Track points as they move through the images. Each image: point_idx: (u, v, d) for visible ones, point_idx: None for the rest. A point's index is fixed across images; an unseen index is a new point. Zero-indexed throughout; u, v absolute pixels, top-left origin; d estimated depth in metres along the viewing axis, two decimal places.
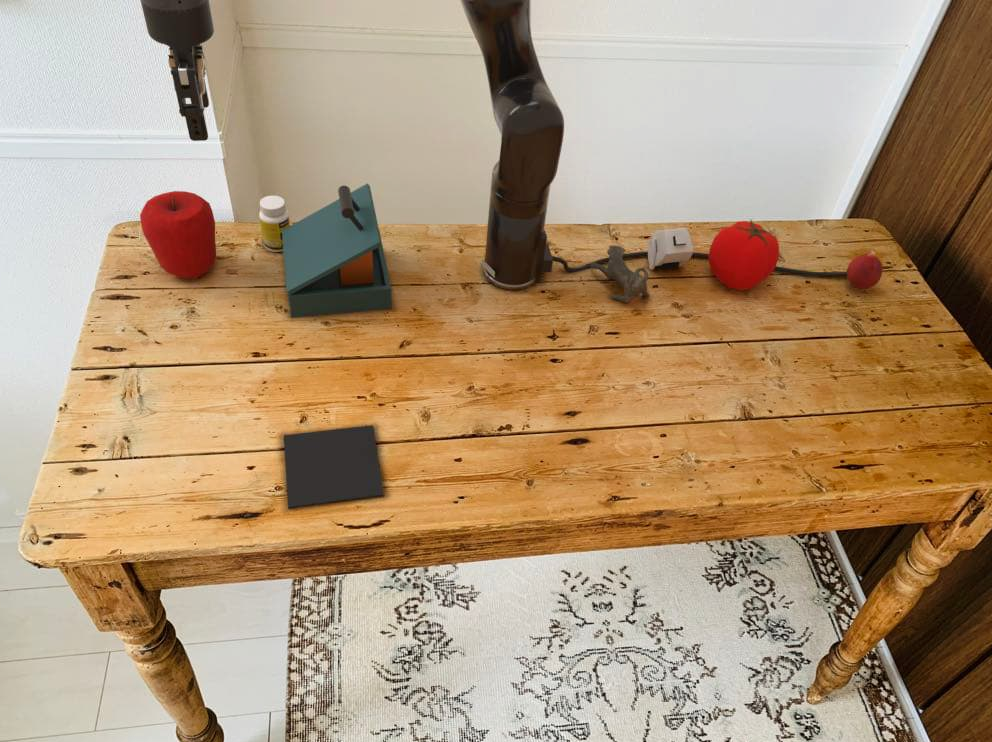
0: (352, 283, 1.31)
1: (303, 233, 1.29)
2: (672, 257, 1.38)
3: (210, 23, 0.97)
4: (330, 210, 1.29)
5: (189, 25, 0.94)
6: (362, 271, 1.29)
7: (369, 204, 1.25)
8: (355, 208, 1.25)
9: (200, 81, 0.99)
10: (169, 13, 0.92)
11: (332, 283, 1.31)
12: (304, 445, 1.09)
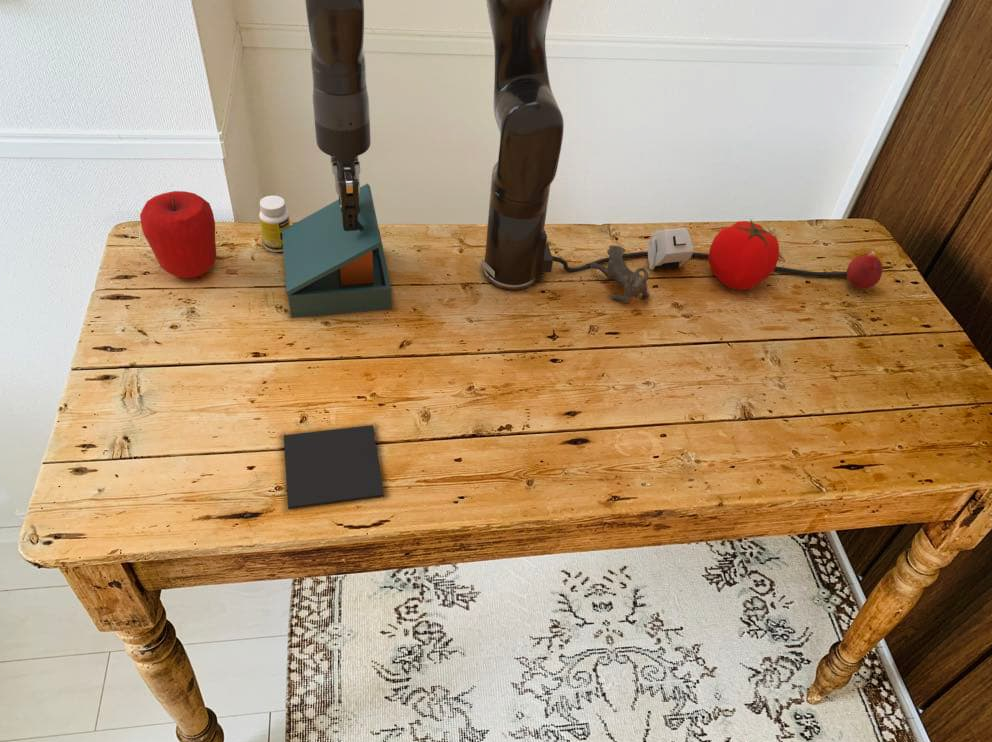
0: (352, 283, 1.31)
1: (304, 233, 1.29)
2: (672, 257, 1.38)
3: (369, 137, 1.14)
4: (330, 210, 1.29)
5: (355, 141, 1.11)
6: (362, 271, 1.29)
7: (369, 204, 1.25)
8: None
9: (357, 184, 1.17)
10: (341, 132, 1.09)
11: (332, 283, 1.31)
12: (304, 445, 1.09)
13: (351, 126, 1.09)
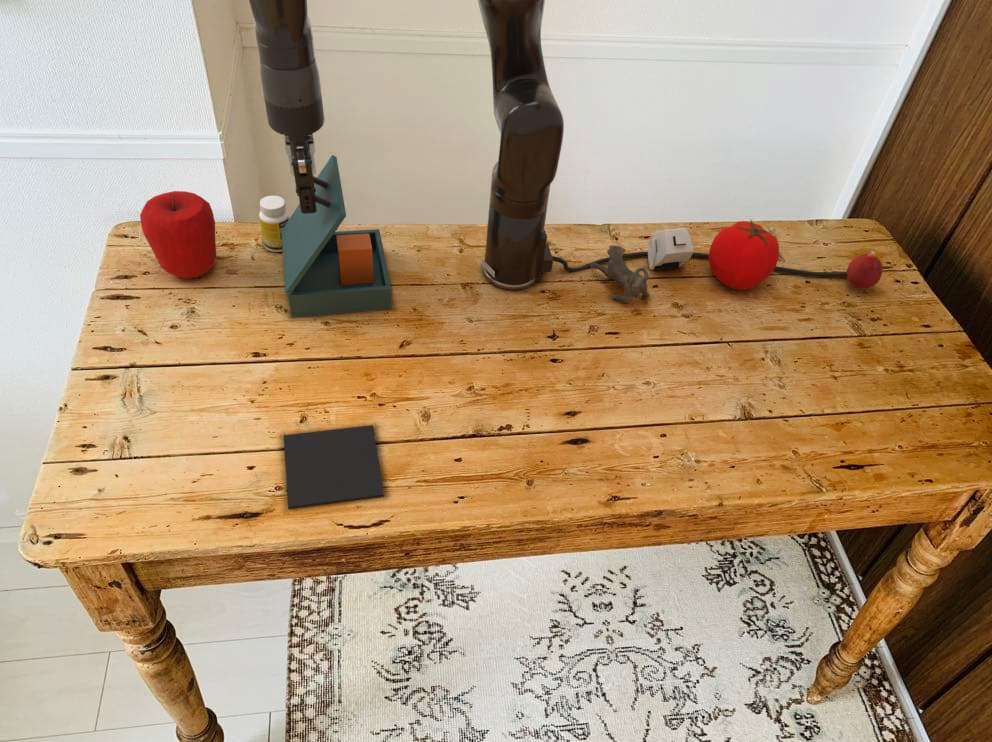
0: (352, 283, 1.31)
1: (294, 227, 1.27)
2: (672, 257, 1.38)
3: (322, 114, 1.10)
4: None
5: (306, 118, 1.07)
6: (362, 271, 1.29)
7: (334, 176, 1.21)
8: (323, 186, 1.21)
9: (312, 164, 1.13)
10: (290, 110, 1.05)
11: (332, 283, 1.31)
12: (304, 445, 1.09)
13: (301, 102, 1.05)
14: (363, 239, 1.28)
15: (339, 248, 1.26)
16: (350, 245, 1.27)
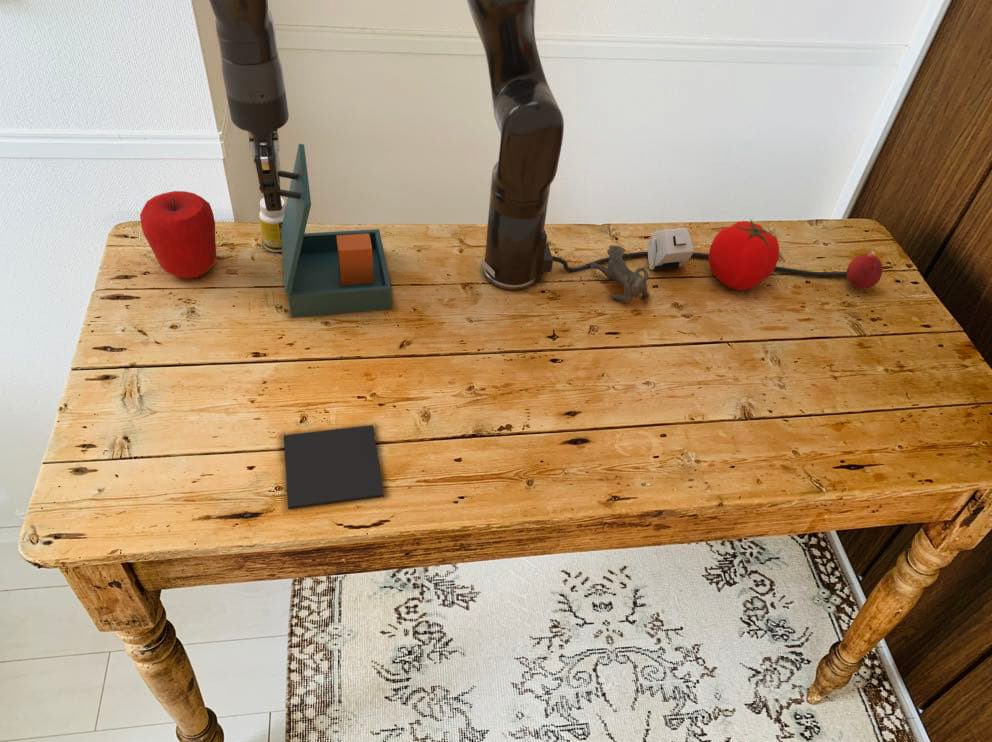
0: (352, 283, 1.31)
1: (286, 225, 1.27)
2: (672, 257, 1.38)
3: (286, 110, 1.08)
4: (291, 190, 1.25)
5: (269, 114, 1.05)
6: (362, 271, 1.29)
7: (300, 166, 1.18)
8: (294, 178, 1.19)
9: (277, 161, 1.11)
10: (253, 105, 1.04)
11: (332, 283, 1.31)
12: (304, 445, 1.09)
13: (263, 98, 1.04)
14: (363, 239, 1.28)
15: (339, 248, 1.26)
16: (350, 245, 1.27)
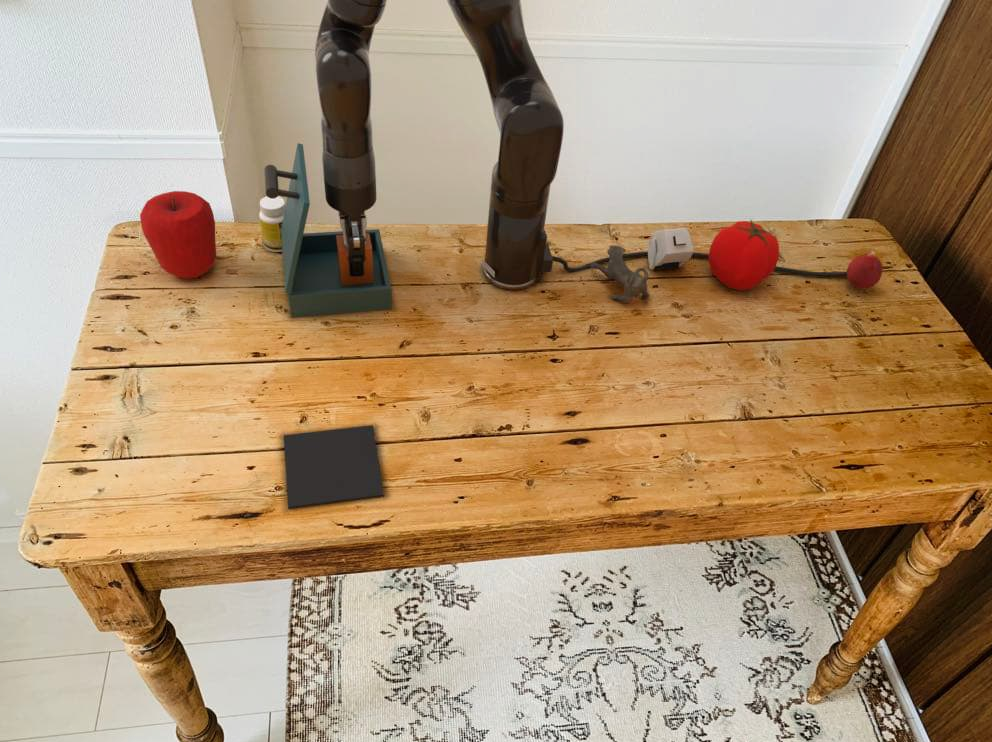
0: (352, 283, 1.31)
1: (285, 225, 1.27)
2: (672, 257, 1.38)
3: (375, 193, 1.21)
4: (290, 190, 1.25)
5: (362, 198, 1.18)
6: None
7: (299, 165, 1.18)
8: (292, 177, 1.19)
9: (363, 236, 1.24)
10: (349, 191, 1.16)
11: (332, 283, 1.31)
12: (304, 445, 1.09)
13: (358, 185, 1.16)
14: None
15: (339, 248, 1.26)
16: None
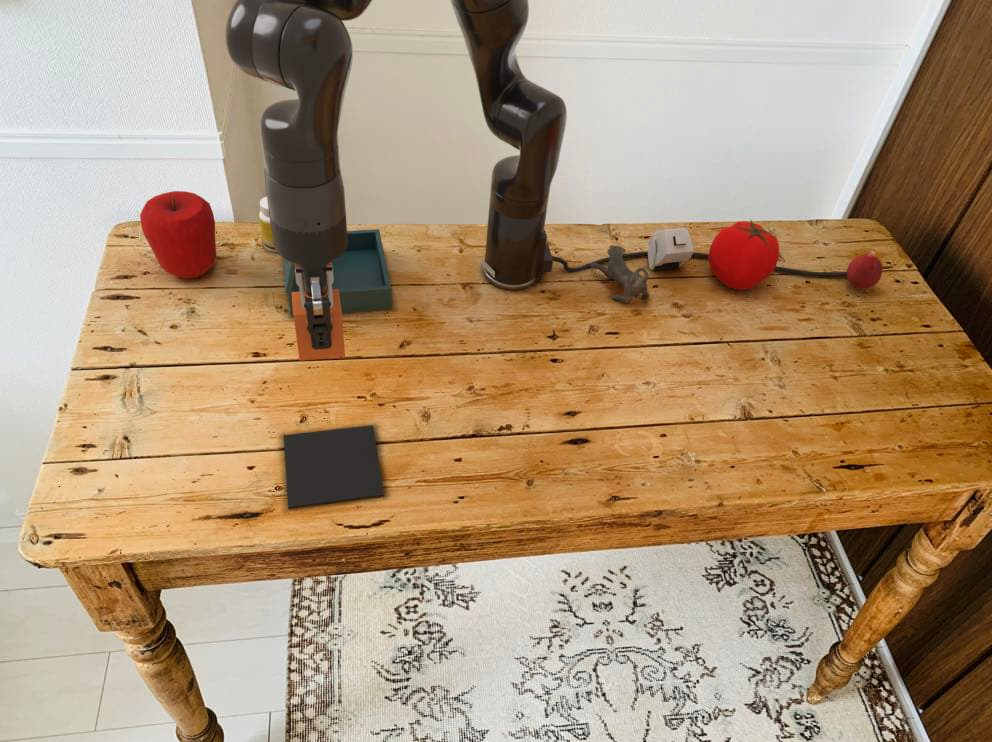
0: (315, 357, 0.94)
1: None
2: (672, 257, 1.38)
3: (346, 236, 0.83)
4: None
5: (325, 245, 0.81)
6: None
7: None
8: None
9: (330, 296, 0.87)
10: (305, 235, 0.79)
11: None
12: (304, 445, 1.09)
13: (319, 227, 0.79)
14: None
15: (295, 312, 0.89)
16: None
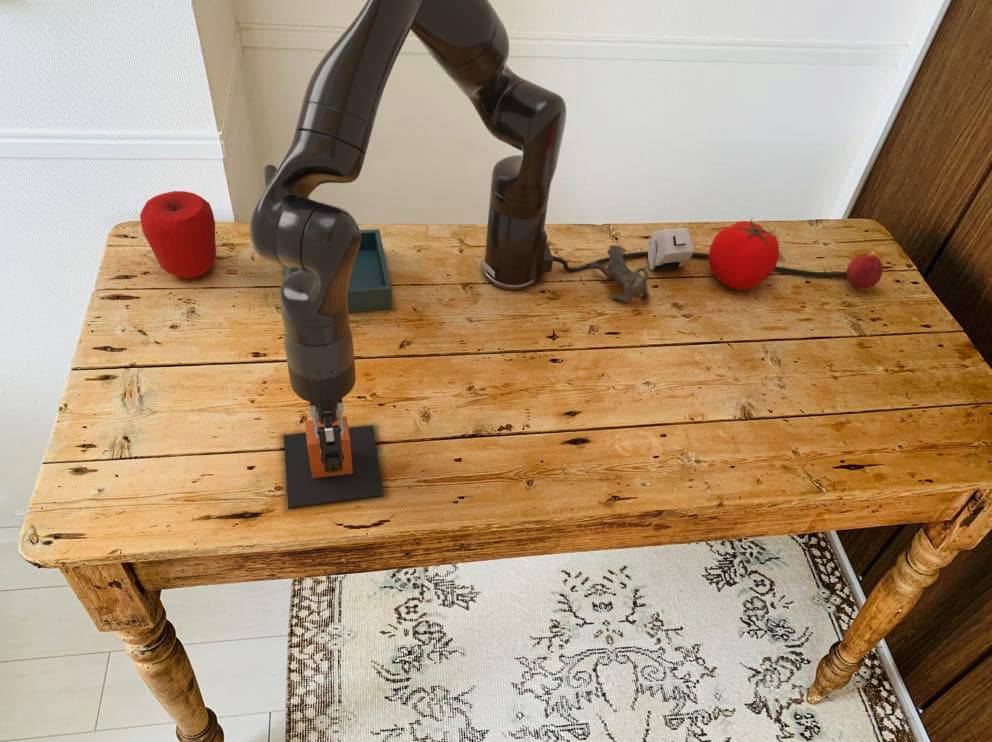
0: (326, 475, 1.05)
1: None
2: (672, 257, 1.38)
3: (354, 375, 0.94)
4: None
5: (337, 387, 0.92)
6: None
7: None
8: None
9: (340, 425, 0.97)
10: (319, 381, 0.90)
11: None
12: (304, 445, 1.09)
13: (331, 374, 0.90)
14: None
15: (308, 441, 1.00)
16: None
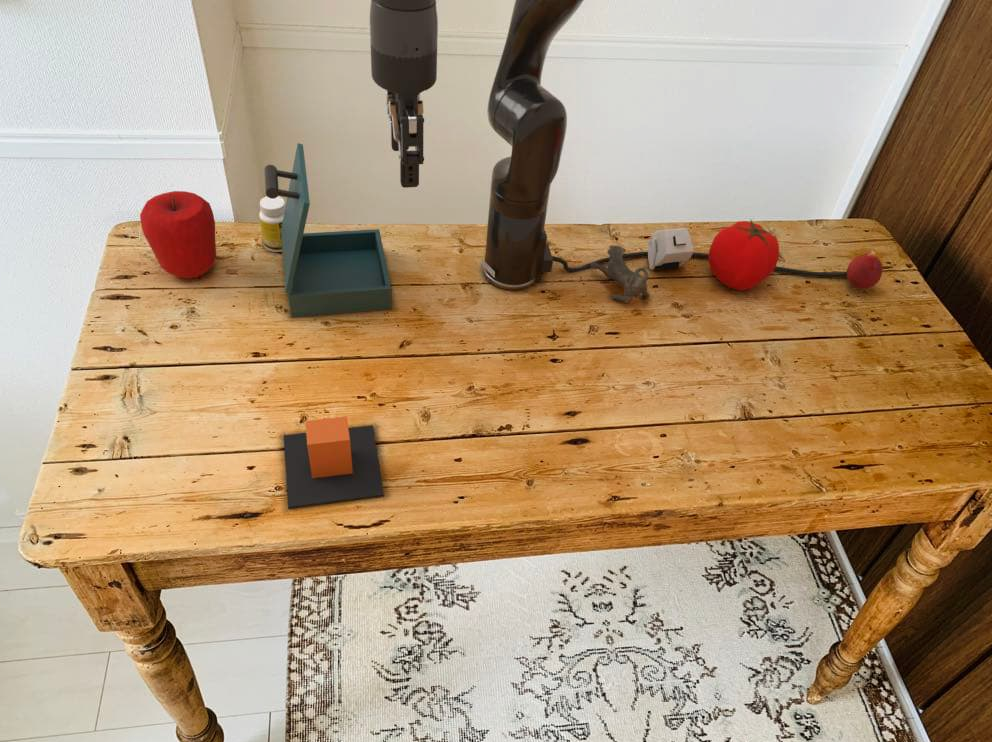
0: (326, 475, 1.05)
1: (285, 225, 1.27)
2: (672, 257, 1.38)
3: (436, 69, 0.93)
4: (290, 190, 1.25)
5: (421, 72, 0.91)
6: (338, 462, 1.04)
7: (299, 165, 1.18)
8: (292, 177, 1.19)
9: None
10: (404, 60, 0.89)
11: (332, 283, 1.31)
12: (304, 445, 1.09)
13: (417, 52, 0.89)
14: (339, 425, 1.02)
15: (308, 441, 1.00)
16: (322, 435, 1.01)
